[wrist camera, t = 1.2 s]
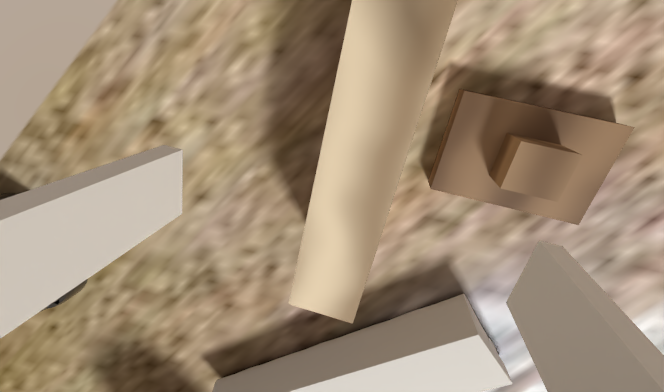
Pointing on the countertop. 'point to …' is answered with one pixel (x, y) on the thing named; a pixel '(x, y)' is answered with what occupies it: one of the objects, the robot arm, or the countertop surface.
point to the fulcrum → (525, 156)
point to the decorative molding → (389, 358)
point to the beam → (366, 146)
